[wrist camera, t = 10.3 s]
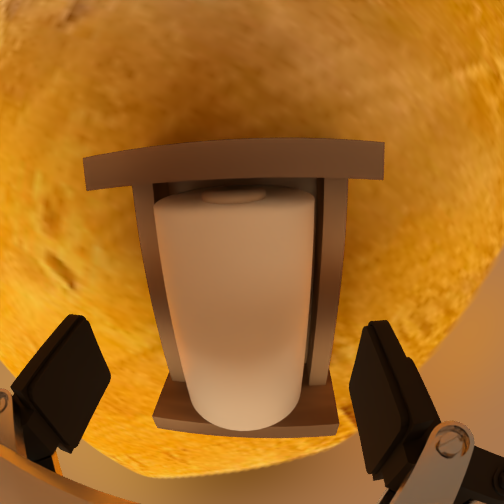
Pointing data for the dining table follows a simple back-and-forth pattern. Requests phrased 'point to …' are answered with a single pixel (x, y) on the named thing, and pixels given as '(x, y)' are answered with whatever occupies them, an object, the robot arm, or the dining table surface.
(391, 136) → the dining table surface
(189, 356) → the roll
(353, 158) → the cradle
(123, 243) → the dining table surface
